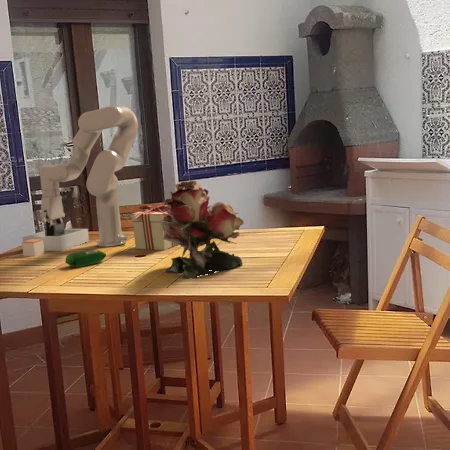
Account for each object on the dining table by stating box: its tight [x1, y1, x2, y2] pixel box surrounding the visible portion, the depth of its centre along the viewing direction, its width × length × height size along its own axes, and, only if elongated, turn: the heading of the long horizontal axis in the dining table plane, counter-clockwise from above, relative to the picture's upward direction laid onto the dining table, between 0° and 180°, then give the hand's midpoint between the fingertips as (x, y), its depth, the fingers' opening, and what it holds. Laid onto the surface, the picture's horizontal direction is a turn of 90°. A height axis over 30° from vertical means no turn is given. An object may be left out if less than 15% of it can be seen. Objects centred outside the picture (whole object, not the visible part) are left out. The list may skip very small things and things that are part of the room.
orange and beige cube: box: [21, 239, 45, 257], centre depth 266 cm, size 6×6×6 cm
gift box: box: [130, 204, 179, 251], centre depth 262 cm, size 17×18×17 cm
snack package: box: [64, 248, 107, 269], centre depth 238 cm, size 7×16×5 cm, turn 127°
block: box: [43, 222, 65, 237], centre depth 282 cm, size 6×6×5 cm
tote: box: [21, 228, 90, 252], centre depth 282 cm, size 20×20×6 cm
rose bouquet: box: [161, 180, 245, 279], centre depth 218 cm, size 26×29×30 cm
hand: (55, 233), depth 282 cm, fingers closed on block, 6 cm apart
